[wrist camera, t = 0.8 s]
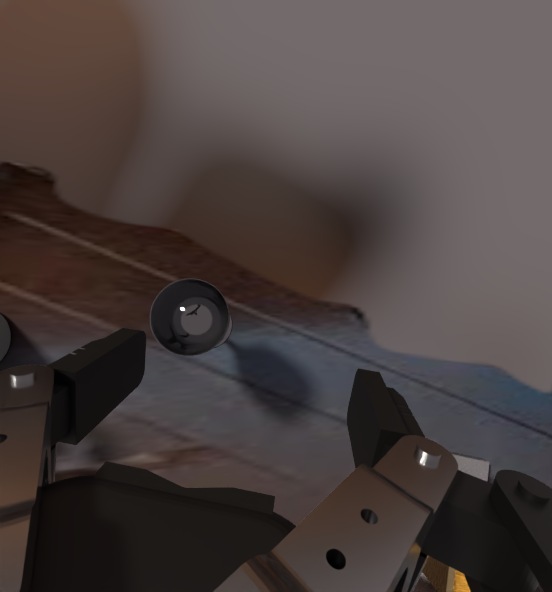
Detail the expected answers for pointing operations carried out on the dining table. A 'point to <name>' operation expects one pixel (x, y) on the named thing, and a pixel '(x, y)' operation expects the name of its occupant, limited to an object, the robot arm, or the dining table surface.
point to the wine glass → (190, 317)
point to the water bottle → (4, 337)
